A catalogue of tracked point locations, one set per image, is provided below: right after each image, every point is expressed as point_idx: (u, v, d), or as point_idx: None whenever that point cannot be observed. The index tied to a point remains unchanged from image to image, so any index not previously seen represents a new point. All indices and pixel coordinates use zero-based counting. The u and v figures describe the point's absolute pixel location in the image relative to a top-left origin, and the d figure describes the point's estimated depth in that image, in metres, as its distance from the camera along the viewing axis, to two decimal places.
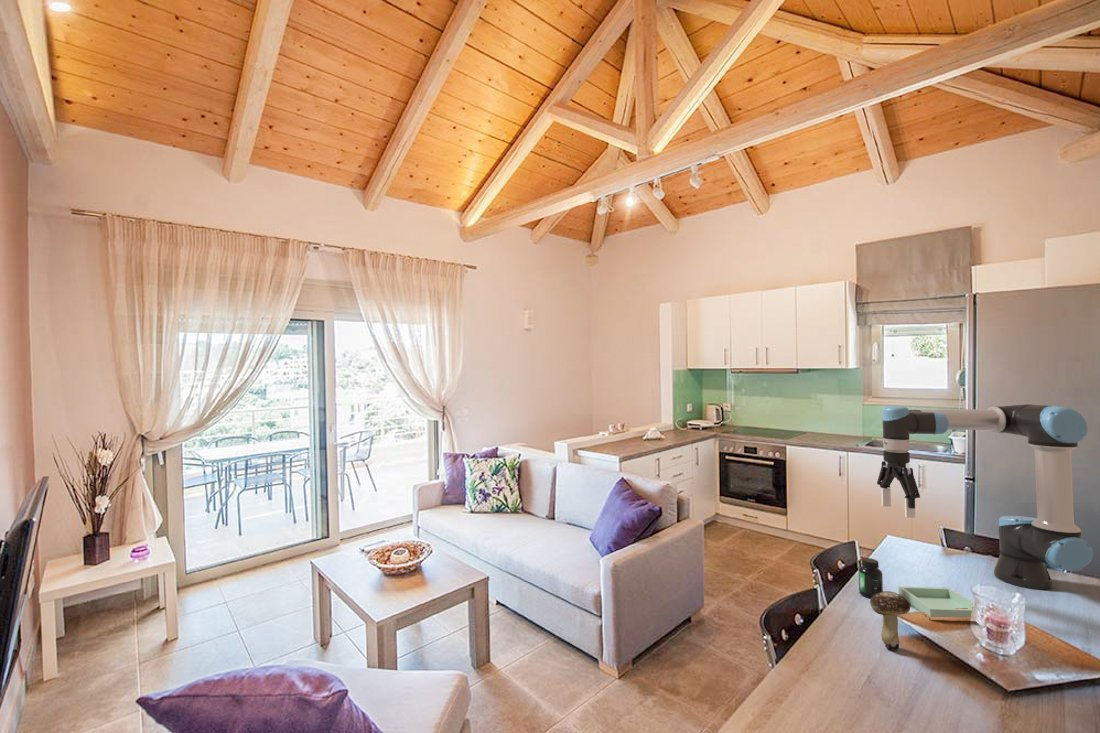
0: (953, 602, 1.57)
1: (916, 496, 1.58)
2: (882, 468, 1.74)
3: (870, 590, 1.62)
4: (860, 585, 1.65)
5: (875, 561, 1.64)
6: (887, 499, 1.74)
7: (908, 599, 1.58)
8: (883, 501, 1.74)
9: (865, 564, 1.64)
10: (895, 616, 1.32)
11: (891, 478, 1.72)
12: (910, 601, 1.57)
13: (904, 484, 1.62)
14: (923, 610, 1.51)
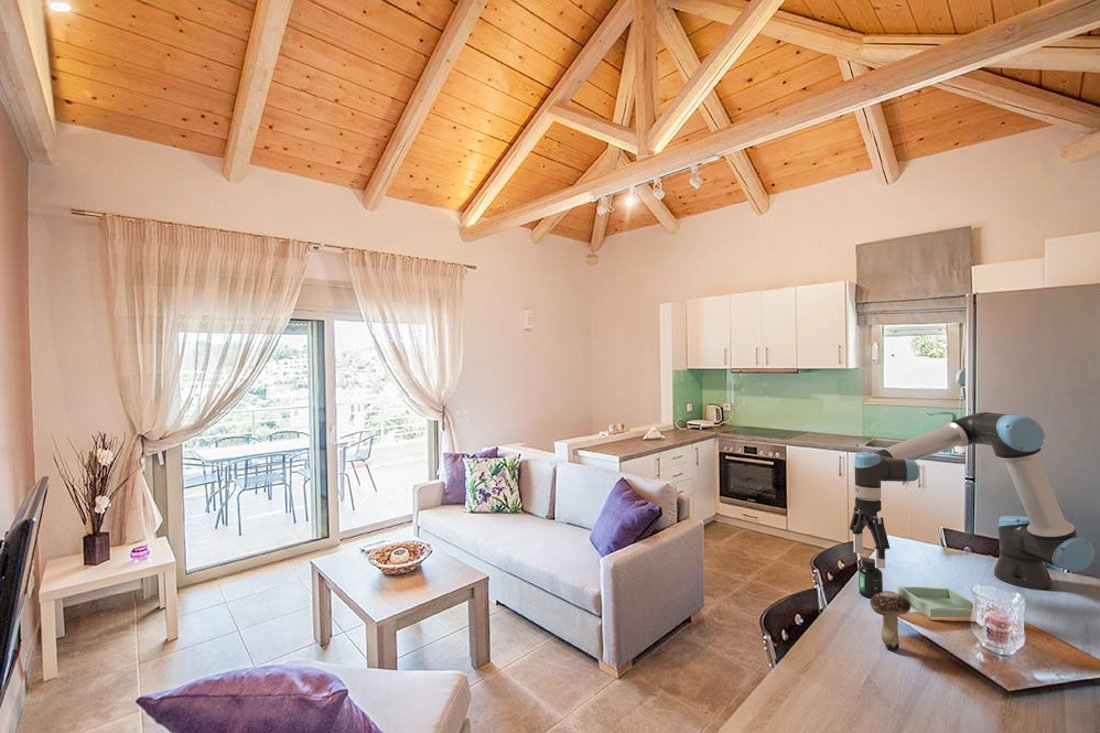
0: (953, 602, 1.57)
1: (886, 547, 1.55)
2: (854, 513, 1.72)
3: (870, 590, 1.62)
4: (860, 585, 1.65)
5: None
6: (859, 545, 1.71)
7: (908, 599, 1.58)
8: (855, 547, 1.72)
9: (865, 564, 1.64)
10: (895, 616, 1.32)
11: (863, 525, 1.69)
12: (910, 601, 1.57)
13: (874, 534, 1.60)
14: (923, 610, 1.51)
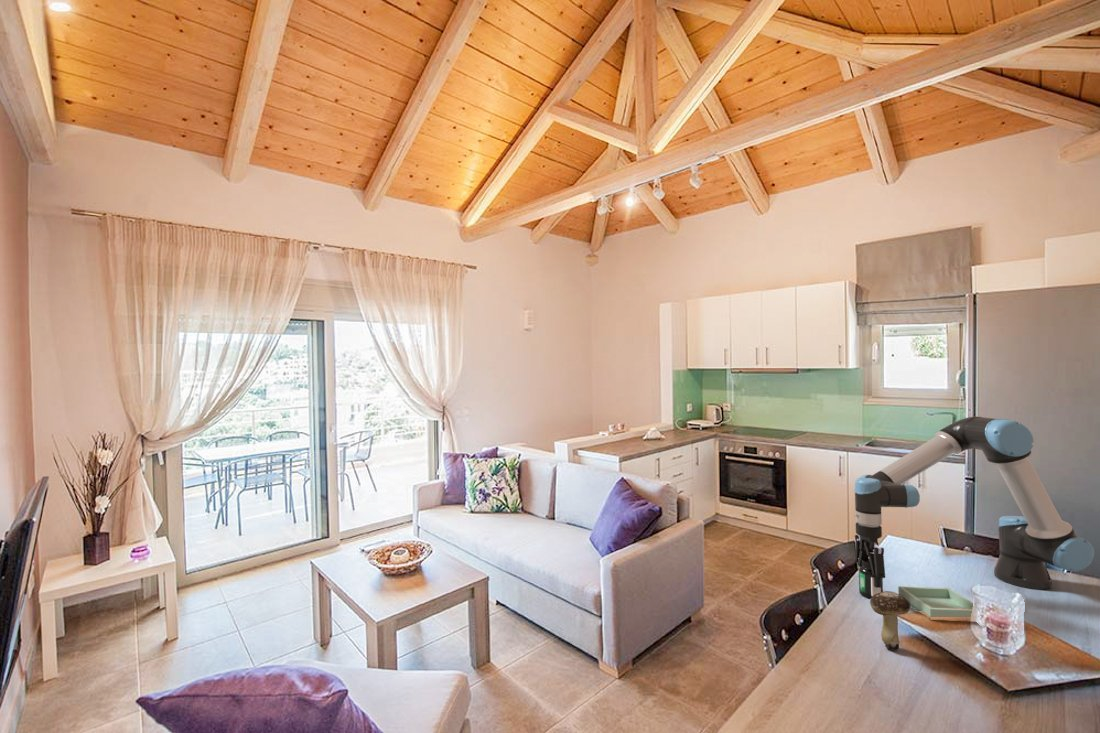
0: (953, 602, 1.57)
1: (881, 576, 1.58)
2: (856, 542, 1.71)
3: (870, 590, 1.62)
4: (860, 585, 1.65)
5: None
6: None
7: (908, 599, 1.58)
8: None
9: (865, 564, 1.64)
10: (895, 616, 1.32)
11: (866, 553, 1.67)
12: (910, 601, 1.57)
13: (873, 562, 1.61)
14: (923, 610, 1.51)
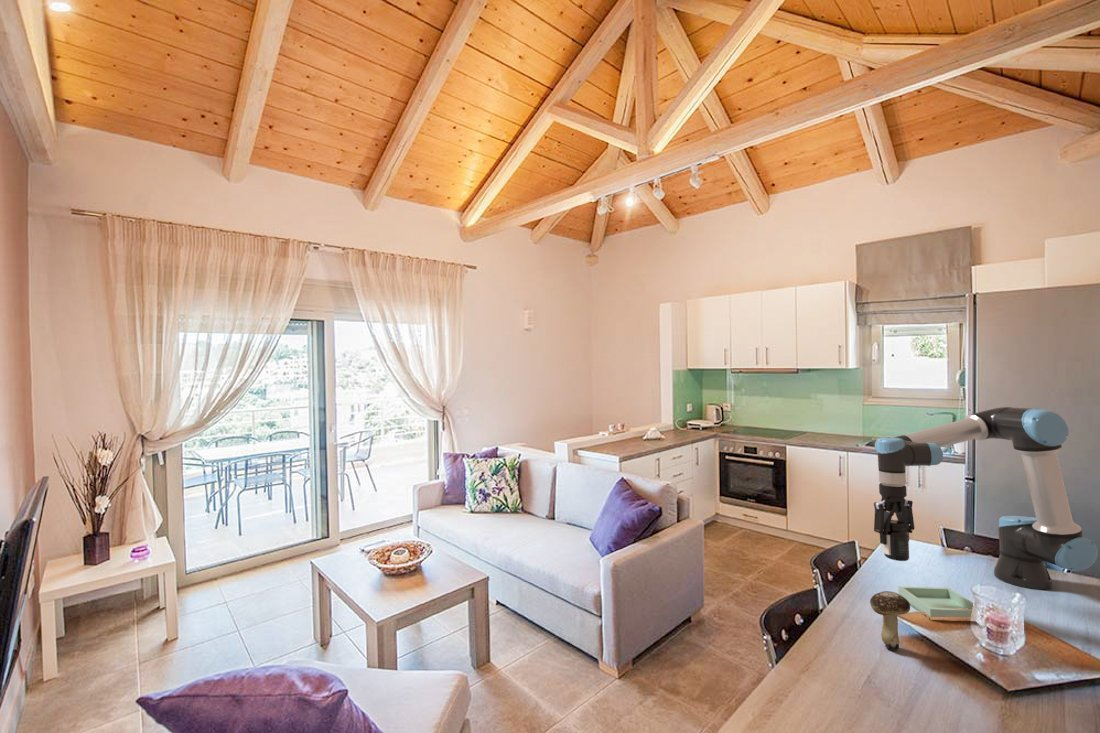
0: (953, 602, 1.57)
1: (877, 531, 1.60)
2: None
3: None
4: None
5: (896, 523, 1.60)
6: None
7: (908, 599, 1.58)
8: None
9: None
10: (895, 616, 1.32)
11: (900, 516, 1.62)
12: (910, 601, 1.57)
13: None
14: (923, 610, 1.51)
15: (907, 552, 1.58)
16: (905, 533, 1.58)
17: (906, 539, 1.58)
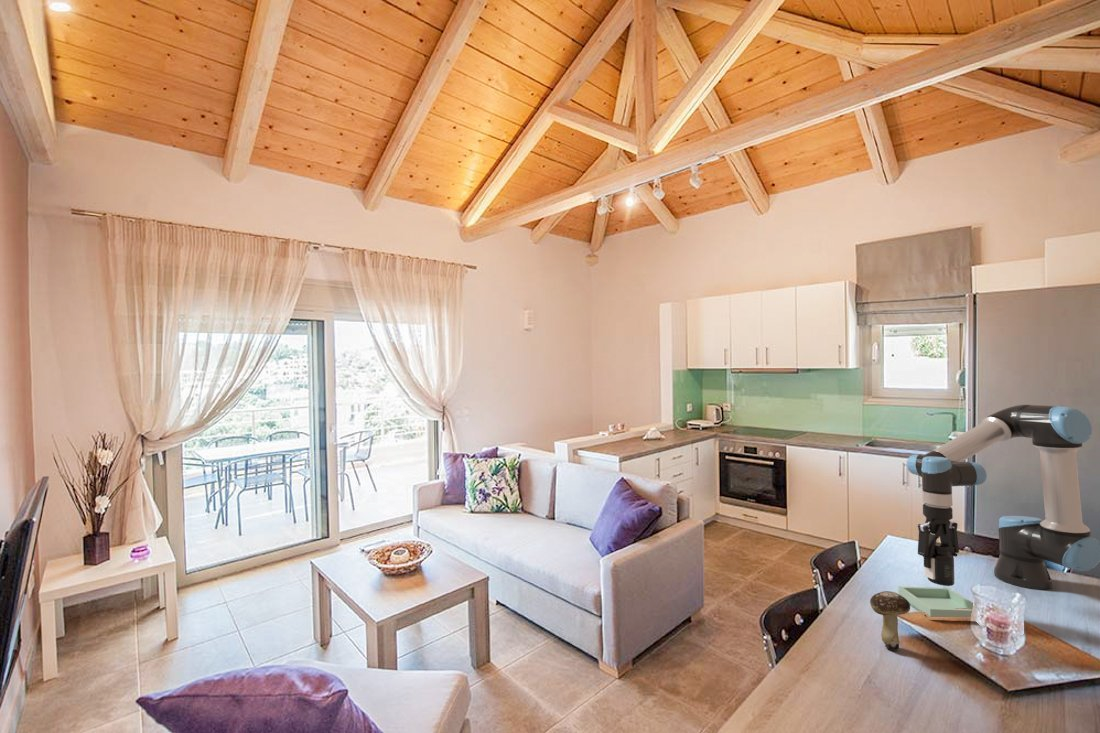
0: (953, 602, 1.57)
1: (922, 554, 1.53)
2: None
3: None
4: None
5: (942, 546, 1.53)
6: None
7: (908, 599, 1.58)
8: None
9: None
10: (895, 616, 1.32)
11: (945, 539, 1.56)
12: (910, 601, 1.57)
13: None
14: (923, 610, 1.51)
15: (953, 577, 1.52)
16: (951, 557, 1.52)
17: (952, 563, 1.52)
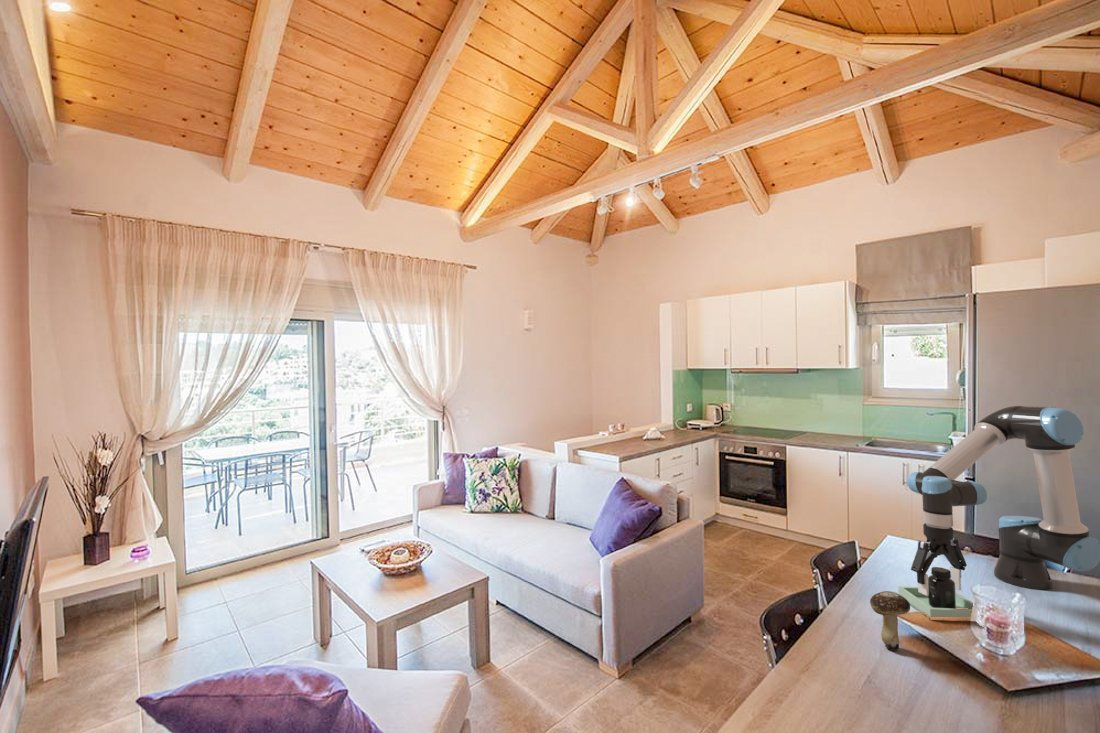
0: None
1: (915, 570, 1.53)
2: None
3: (929, 596, 1.55)
4: None
5: (943, 571, 1.53)
6: (955, 581, 1.56)
7: (908, 599, 1.58)
8: None
9: (931, 570, 1.56)
10: (895, 616, 1.32)
11: (949, 557, 1.56)
12: (910, 601, 1.57)
13: None
14: (923, 610, 1.51)
15: (954, 602, 1.51)
16: (952, 582, 1.52)
17: (953, 589, 1.51)
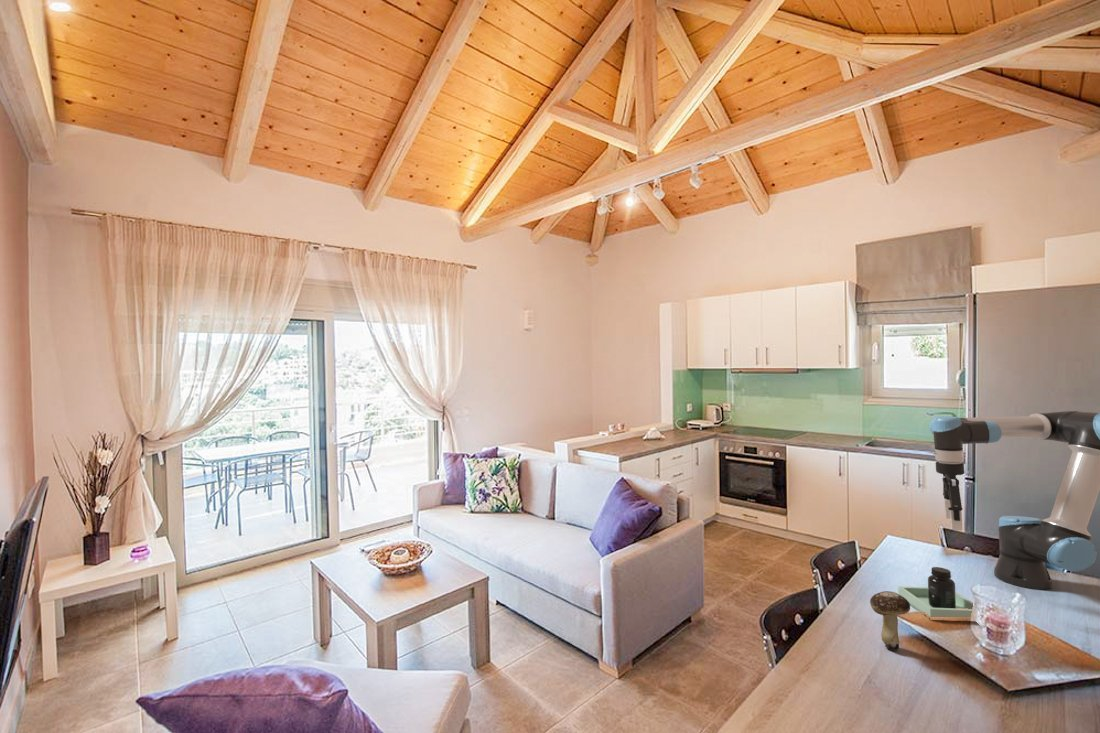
0: None
1: (957, 508, 1.56)
2: None
3: (929, 596, 1.55)
4: None
5: (943, 571, 1.53)
6: (951, 511, 1.69)
7: (908, 599, 1.58)
8: (946, 513, 1.70)
9: None
10: (895, 616, 1.32)
11: None
12: (910, 601, 1.57)
13: None
14: (923, 610, 1.51)
15: (954, 602, 1.51)
16: (952, 582, 1.52)
17: (953, 589, 1.51)
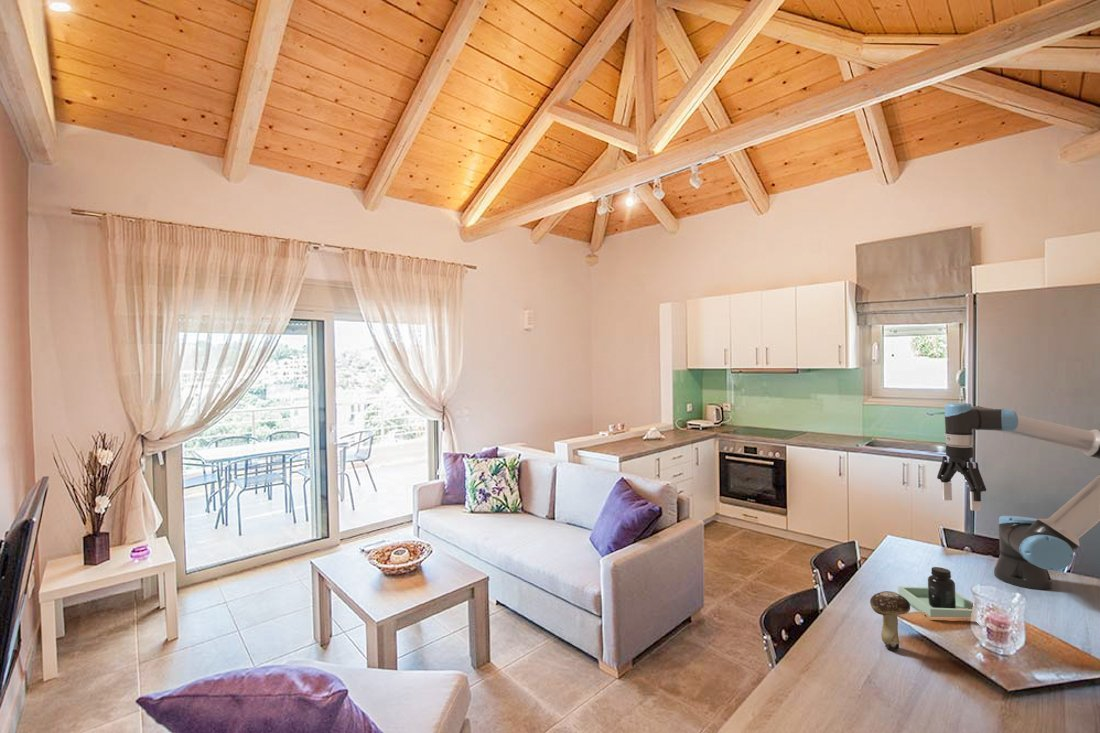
0: None
1: (982, 489, 1.62)
2: (943, 462, 1.79)
3: (929, 596, 1.55)
4: None
5: (943, 571, 1.53)
6: (948, 493, 1.79)
7: (908, 599, 1.58)
8: (944, 495, 1.79)
9: None
10: (895, 616, 1.32)
11: (953, 472, 1.76)
12: (910, 601, 1.57)
13: (969, 478, 1.67)
14: (923, 610, 1.51)
15: (954, 602, 1.51)
16: (952, 582, 1.52)
17: (953, 589, 1.51)
